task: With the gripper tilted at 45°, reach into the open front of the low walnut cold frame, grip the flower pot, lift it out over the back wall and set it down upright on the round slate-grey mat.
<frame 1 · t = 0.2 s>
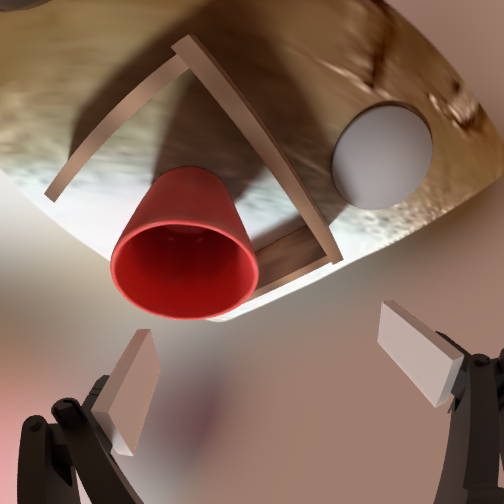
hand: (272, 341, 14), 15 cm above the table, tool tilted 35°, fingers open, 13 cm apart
slate mat: (384, 160, 24), on the table
flower pot: (189, 199, 25), on the table
cold frame: (189, 200, 25), on the table
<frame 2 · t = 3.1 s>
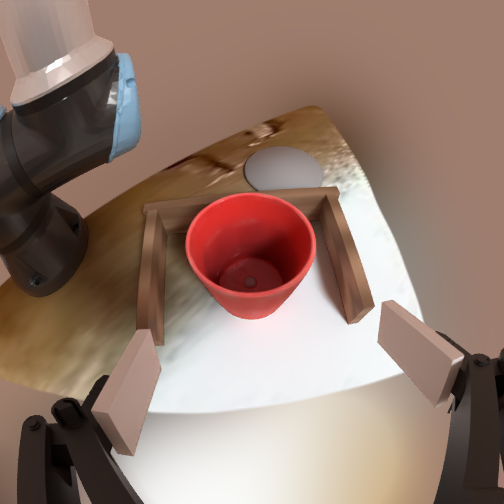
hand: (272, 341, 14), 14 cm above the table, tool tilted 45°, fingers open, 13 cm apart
slate mat: (284, 171, 41), on the table
flower pot: (251, 287, 31), on the table
cold frame: (251, 286, 31), on the table
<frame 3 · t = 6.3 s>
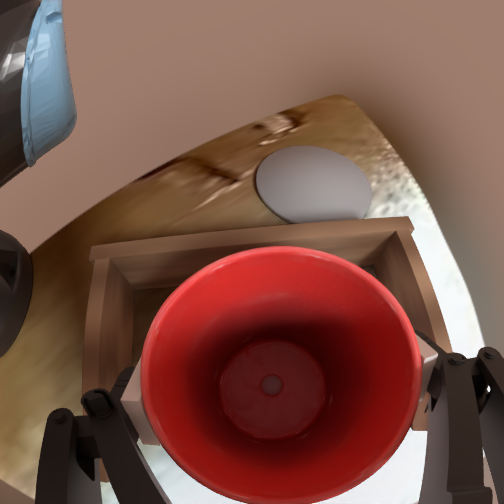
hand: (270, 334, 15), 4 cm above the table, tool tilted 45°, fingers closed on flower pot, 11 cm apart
slate mat: (315, 184, 27), on the table
flower pot: (272, 388, 17), on the table, touching gripper
cold frame: (272, 388, 17), on the table
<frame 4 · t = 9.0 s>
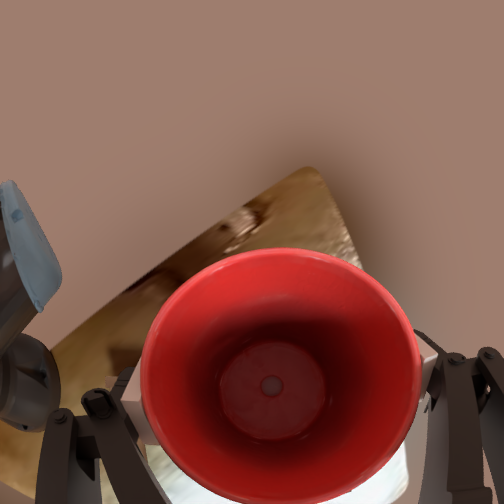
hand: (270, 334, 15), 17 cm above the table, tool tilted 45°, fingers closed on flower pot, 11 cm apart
flower pot: (272, 389, 17), point 12 cm above the table, touching gripper
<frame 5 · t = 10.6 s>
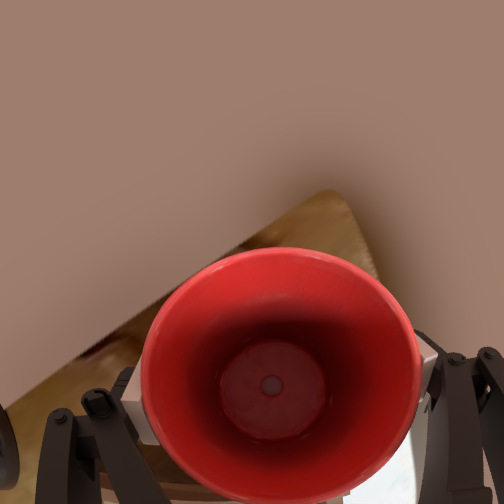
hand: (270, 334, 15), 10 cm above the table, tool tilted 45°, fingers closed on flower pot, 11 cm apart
flower pot: (272, 389, 17), point 5 cm above the table, touching gripper
when the fingers open (6 cm above the table, at t = 12.0 s): flower pot stays where it is, resting on slate mat.
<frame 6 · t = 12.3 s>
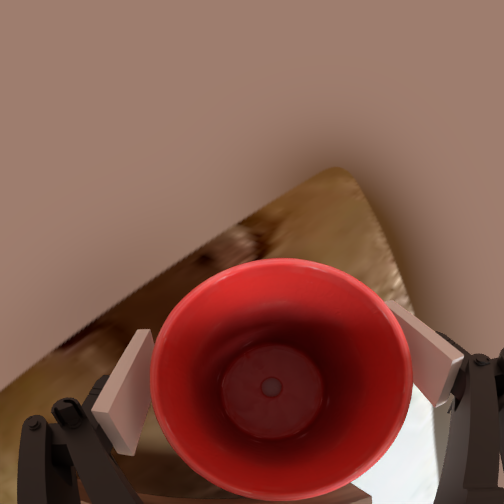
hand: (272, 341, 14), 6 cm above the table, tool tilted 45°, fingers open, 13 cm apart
flower pot: (271, 390, 18), resting on slate mat
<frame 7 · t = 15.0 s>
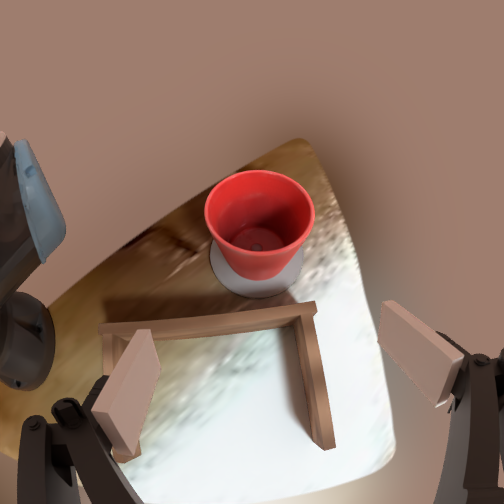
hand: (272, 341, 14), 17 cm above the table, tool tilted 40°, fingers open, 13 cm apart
slate mat: (256, 254, 36), on the table
flower pot: (257, 253, 35), resting on slate mat
cold frame: (217, 407, 27), on the table
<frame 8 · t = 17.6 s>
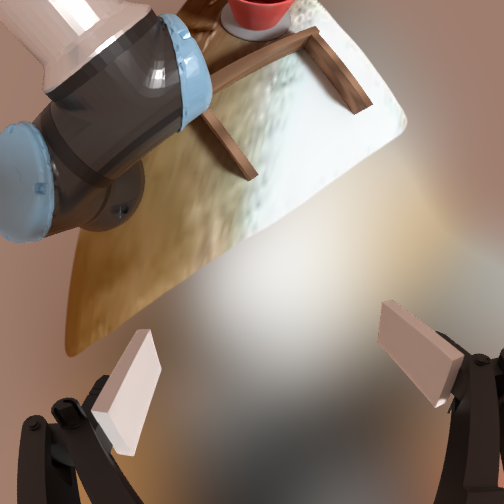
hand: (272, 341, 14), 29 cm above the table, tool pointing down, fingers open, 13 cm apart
slate mat: (255, 17, 34), on the table
flower pot: (256, 16, 33), resting on slate mat
cold frame: (286, 111, 38), on the table
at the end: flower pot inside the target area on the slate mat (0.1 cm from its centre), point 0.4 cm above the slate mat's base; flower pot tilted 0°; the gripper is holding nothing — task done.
